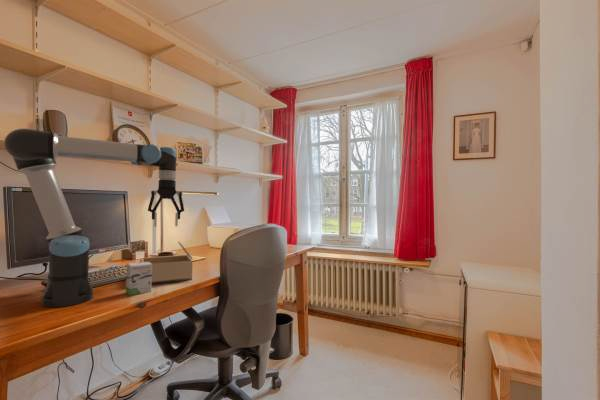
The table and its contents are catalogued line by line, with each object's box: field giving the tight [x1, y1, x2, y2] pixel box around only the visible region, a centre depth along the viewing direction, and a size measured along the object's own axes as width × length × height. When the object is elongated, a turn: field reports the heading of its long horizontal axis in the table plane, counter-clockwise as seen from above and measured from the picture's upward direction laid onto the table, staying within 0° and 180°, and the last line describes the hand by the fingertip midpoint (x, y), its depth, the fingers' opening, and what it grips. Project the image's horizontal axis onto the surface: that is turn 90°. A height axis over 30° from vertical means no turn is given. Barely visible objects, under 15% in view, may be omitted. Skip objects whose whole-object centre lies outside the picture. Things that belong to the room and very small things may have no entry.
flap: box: [177, 241, 193, 260], centre depth 145 cm, size 1×14×8 cm
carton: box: [139, 254, 193, 285], centre depth 141 cm, size 24×21×9 cm
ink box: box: [125, 261, 153, 296], centre depth 120 cm, size 9×5×12 cm, turn 134°
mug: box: [157, 251, 175, 257], centre depth 155 cm, size 12×8×9 cm, turn 56°
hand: (165, 226), depth 141 cm, fingers open, 9 cm apart
